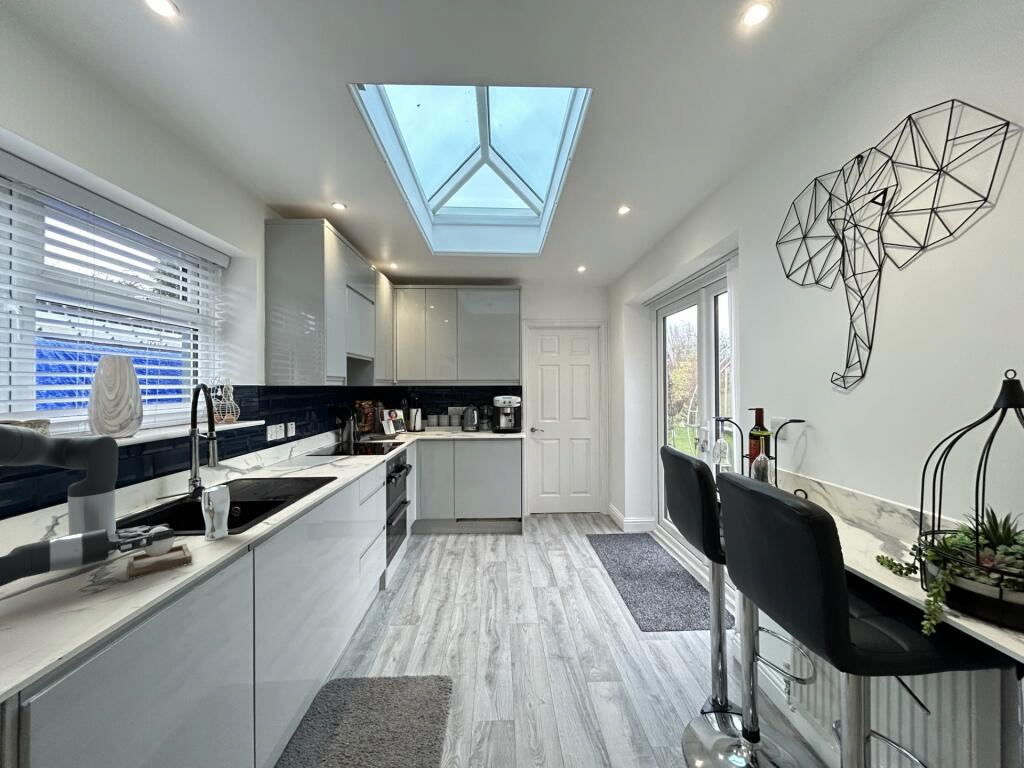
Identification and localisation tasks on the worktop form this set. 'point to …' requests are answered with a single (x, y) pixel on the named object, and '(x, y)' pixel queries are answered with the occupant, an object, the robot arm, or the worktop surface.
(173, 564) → the walnut tray
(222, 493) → the beer glass
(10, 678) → the worktop surface
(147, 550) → the egg
